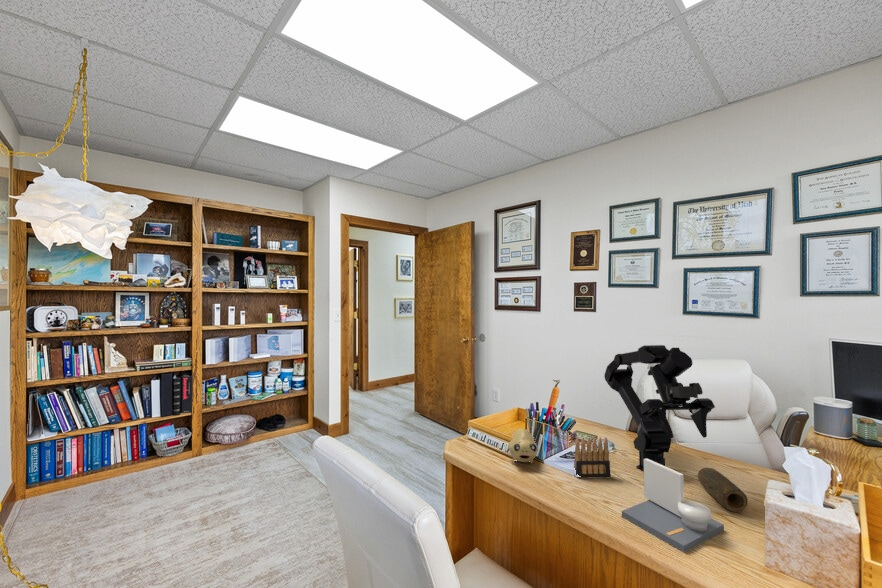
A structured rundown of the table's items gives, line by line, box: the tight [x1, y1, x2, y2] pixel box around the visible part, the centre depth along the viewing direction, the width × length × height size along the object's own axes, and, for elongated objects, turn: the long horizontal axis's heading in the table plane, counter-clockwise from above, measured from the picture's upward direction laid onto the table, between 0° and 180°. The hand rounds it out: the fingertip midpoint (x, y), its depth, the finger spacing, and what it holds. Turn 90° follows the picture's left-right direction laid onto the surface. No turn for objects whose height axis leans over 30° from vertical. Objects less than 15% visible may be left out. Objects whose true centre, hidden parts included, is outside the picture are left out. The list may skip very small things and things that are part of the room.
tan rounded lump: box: [507, 428, 539, 463], centre depth 126 cm, size 10×12×11 cm
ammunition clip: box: [573, 436, 612, 478], centre depth 115 cm, size 11×2×12 cm, turn 90°
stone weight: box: [697, 467, 748, 513], centre depth 101 cm, size 15×7×7 cm, turn 172°
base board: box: [621, 499, 725, 553], centre depth 91 cm, size 15×16×4 cm
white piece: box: [643, 458, 712, 523], centre depth 92 cm, size 16×6×10 cm, turn 22°
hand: (688, 437), depth 102 cm, fingers open, 9 cm apart
